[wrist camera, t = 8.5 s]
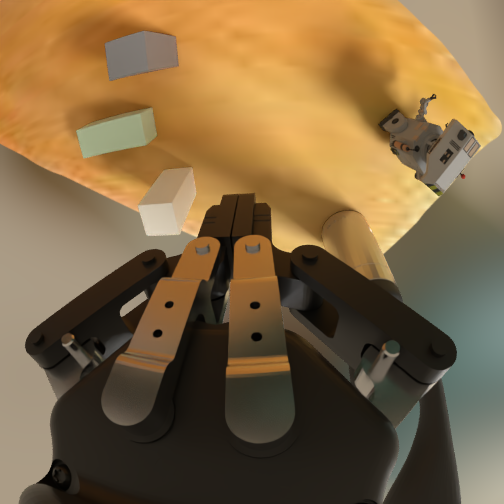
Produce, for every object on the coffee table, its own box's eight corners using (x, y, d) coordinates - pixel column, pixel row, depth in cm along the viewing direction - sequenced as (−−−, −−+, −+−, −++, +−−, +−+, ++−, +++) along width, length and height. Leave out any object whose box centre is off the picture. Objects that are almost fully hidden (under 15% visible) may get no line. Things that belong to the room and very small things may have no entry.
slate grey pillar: (175, 36, 29) (144, 30, 20) (178, 66, 33) (148, 70, 23) (144, 43, 30) (104, 43, 21) (147, 72, 33) (109, 80, 24)
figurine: (443, 129, 36) (496, 164, 24) (399, 167, 41) (442, 213, 30) (417, 87, 32) (474, 109, 20) (370, 128, 38) (413, 163, 26)
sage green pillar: (140, 113, 33) (76, 130, 34) (146, 145, 36) (83, 158, 37) (152, 106, 37) (91, 122, 38) (157, 135, 40) (98, 147, 41)
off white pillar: (192, 166, 43) (172, 202, 34) (196, 193, 47) (179, 234, 37) (163, 169, 44) (137, 205, 34) (169, 195, 47) (146, 235, 38)
